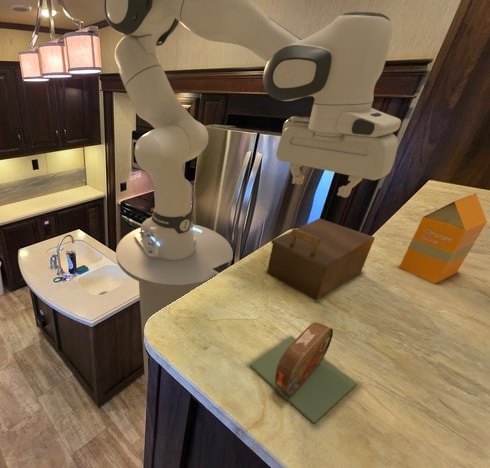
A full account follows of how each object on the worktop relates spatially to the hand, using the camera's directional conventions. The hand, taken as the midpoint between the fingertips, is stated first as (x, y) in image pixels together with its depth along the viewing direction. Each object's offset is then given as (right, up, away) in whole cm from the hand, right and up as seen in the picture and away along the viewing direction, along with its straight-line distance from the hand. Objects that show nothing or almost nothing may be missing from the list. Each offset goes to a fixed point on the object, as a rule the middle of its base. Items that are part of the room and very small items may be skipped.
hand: (318, 189), depth 60 cm
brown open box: (+9, -19, +15) cm, 26 cm away
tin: (-9, -34, -9) cm, 37 cm away
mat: (-9, -35, -9) cm, 37 cm away
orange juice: (+36, -19, +13) cm, 43 cm away
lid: (+8, -11, +11) cm, 17 cm away
